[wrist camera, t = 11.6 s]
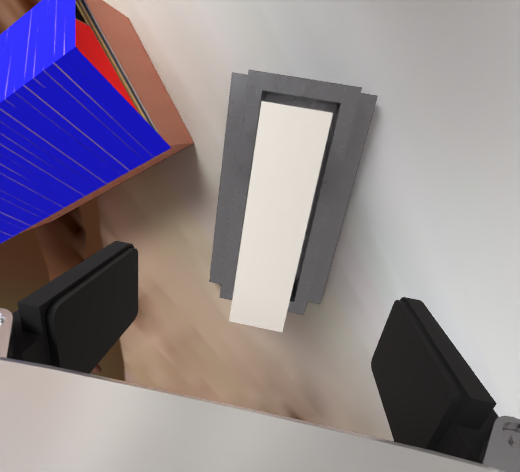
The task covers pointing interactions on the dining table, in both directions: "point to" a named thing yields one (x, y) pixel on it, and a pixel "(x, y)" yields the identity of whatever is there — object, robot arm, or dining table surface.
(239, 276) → the white block
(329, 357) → the dining table surface
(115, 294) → the robot arm
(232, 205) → the grey holder tray
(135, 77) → the blue shipping container
